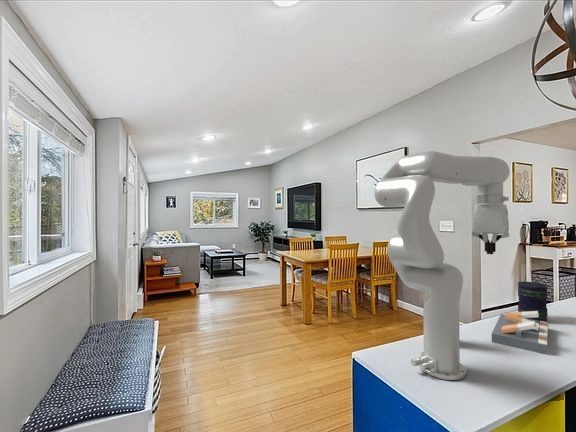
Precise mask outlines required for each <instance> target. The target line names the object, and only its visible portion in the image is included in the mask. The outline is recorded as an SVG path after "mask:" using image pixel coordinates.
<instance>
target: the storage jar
mask: <svg viewBox="0 0 576 432" xmlns="http://www.w3.org/2000/svg"><path fill="white" fill-rule="evenodd" d="M517 285H518V286H517V296H518V304H517V312H527V311H538V313H539V317H533V318H527V319H533V320H538V321H544V322H548V313H549V312H548V308H547V300H548V285H547V284H545V283H541V282H535V281H518V282H517Z"/></svg>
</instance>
